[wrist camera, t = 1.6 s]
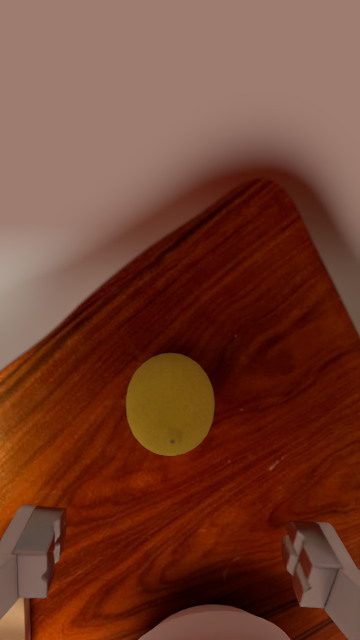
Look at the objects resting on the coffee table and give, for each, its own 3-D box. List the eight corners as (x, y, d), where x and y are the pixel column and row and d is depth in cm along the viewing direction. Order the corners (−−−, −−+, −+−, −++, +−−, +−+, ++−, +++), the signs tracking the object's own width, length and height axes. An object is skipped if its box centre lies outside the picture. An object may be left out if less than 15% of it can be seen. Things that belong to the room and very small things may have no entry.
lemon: (182, 413, 23) (191, 500, 16) (120, 384, 22) (97, 461, 15) (218, 357, 22) (247, 422, 14) (154, 324, 21) (149, 374, 13)
